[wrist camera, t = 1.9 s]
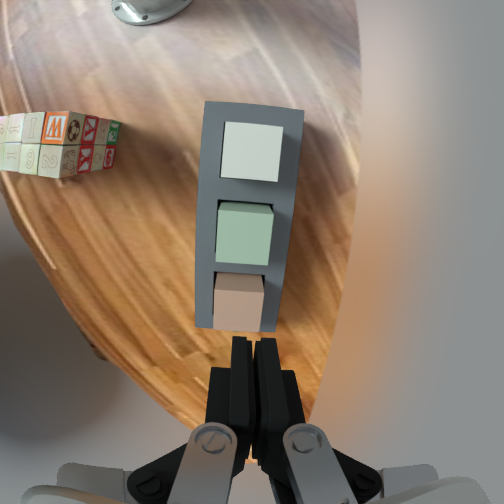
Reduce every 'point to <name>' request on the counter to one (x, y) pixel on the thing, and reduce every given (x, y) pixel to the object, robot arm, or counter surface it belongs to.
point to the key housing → (246, 191)
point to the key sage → (244, 233)
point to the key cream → (251, 151)
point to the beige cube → (238, 302)
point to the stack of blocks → (57, 143)
